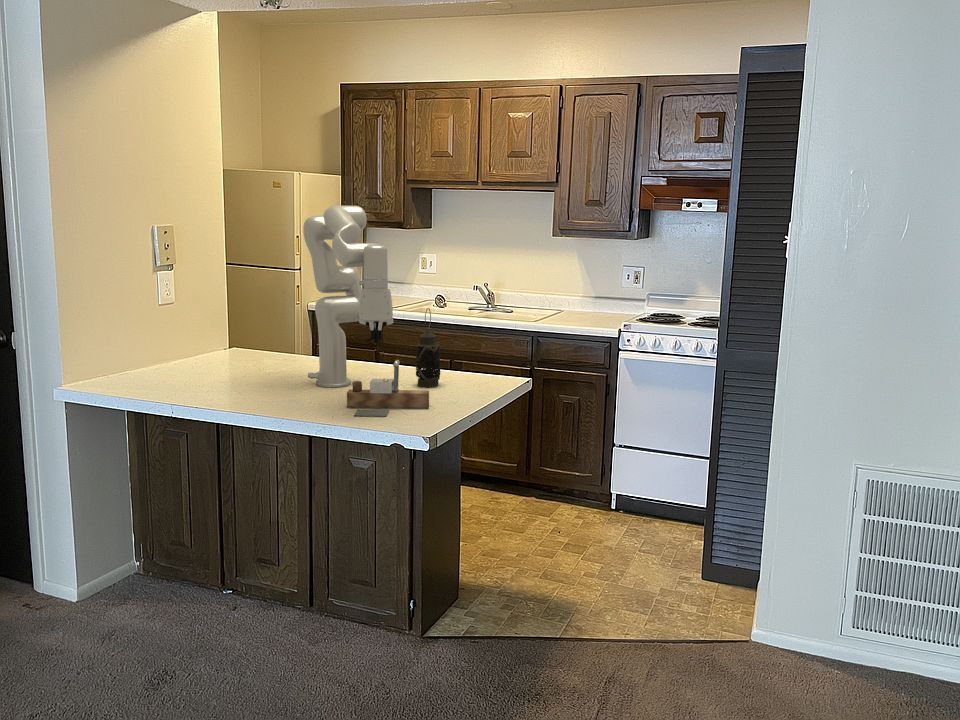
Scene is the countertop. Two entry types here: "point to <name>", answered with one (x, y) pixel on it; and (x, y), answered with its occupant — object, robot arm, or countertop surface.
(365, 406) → the plane body
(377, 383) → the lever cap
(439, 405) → the countertop surface
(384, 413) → the mat
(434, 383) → the lantern
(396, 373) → the lever
